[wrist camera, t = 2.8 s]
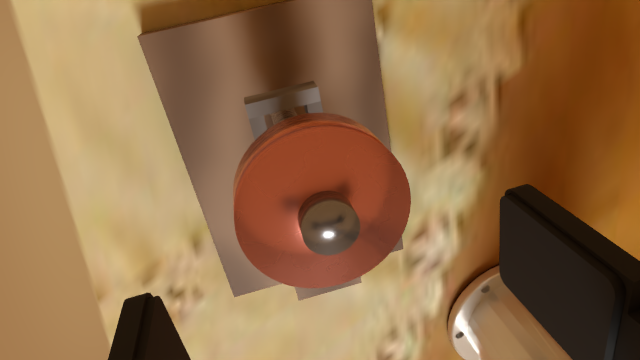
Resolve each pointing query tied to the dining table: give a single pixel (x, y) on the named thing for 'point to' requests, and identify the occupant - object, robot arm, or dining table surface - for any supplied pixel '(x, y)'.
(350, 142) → the orange knobbed disc
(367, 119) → the eye stand
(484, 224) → the dining table surface
